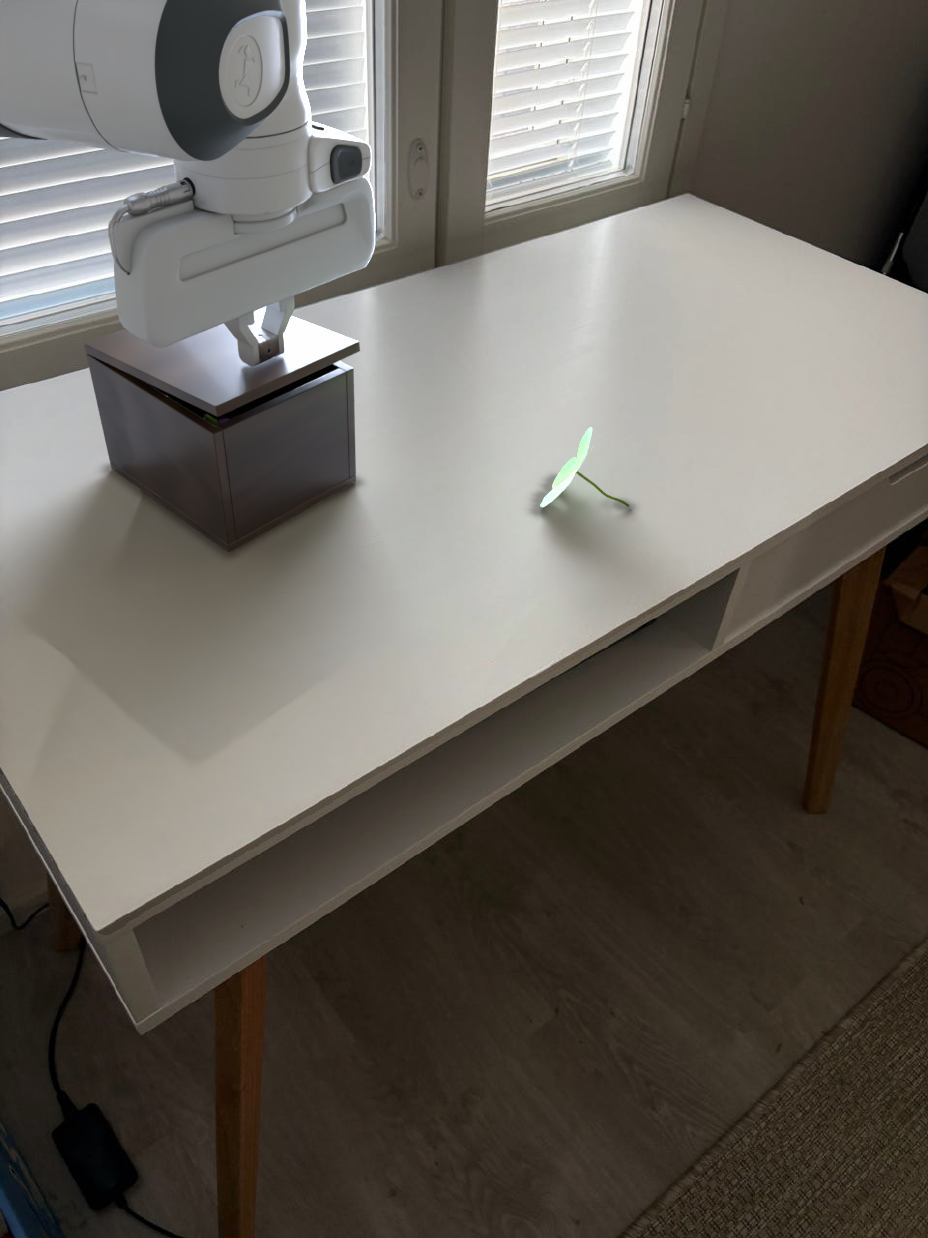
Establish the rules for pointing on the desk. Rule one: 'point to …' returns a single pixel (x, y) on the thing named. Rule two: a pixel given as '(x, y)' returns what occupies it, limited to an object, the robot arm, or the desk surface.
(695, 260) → the desk surface
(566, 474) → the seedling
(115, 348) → the cover
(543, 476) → the desk surface
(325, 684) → the desk surface
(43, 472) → the desk surface
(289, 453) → the case
